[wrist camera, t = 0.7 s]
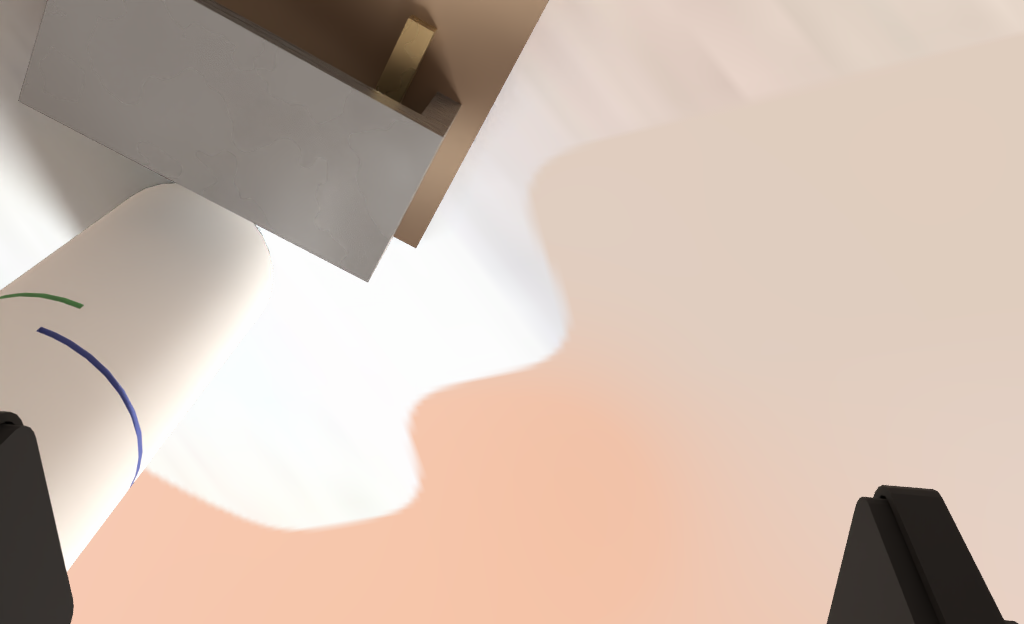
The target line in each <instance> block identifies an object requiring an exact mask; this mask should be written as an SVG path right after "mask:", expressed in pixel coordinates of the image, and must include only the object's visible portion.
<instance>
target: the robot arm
mask: <svg viewBox="0 0 1024 624" xmlns="http://www.w3.org/2000/svg"><path fill="white" fill-rule="evenodd" d="M73 607H74V605H73V597H72V593H71V589H70V584H69V580H68V575H67V571H66V567H65V562H64V558H63V553H62V549H61V545H60V540H59V536H58V531H57V527H56V523H55V518H54V514H53V509H52V505H51V501H50V496H49V492H48V488H47V483H46V479H45V474H44V470H43V466H42V461H41V457H40V452H39V448H38V444H37V439H36V436H35V433H34V431H33V430H32V429H31V428H30V427H28V426H24V425H23V422H22V420H21V419H20V418H19V416H18V415H17V414H15V413H12V412H6V411H0V624H70V623H71V619H72V615H73ZM827 624H1018V623H1016V622H1015V621H1006V620H1004V619H1003V618H1002V615H1001V613H1000V611H999V609H998V607H997V605H996V603H995V601H994V599H993V597H992V596H991V594H990V592H989V590H988V588H987V586H986V584H985V582H984V580H983V578H982V576H981V574H980V572H979V570H978V568H977V566H976V564H975V562H974V560H973V558H972V556H971V554H970V552H969V550H968V548H967V546H966V544H965V542H964V540H963V538H962V536H961V534H960V532H959V530H958V528H957V526H956V524H955V522H954V520H953V518H952V516H951V514H950V513H949V511H948V509H947V506H946V505H945V503H944V501H943V499H942V497H941V496H940V494H939V493H938V491H936V490H933V489H922V488H912V487H899V486H887V485H882V486H880V487H878V489H877V490H876V492H875V494H874V497H873V498H871V497H870V498H869V497H861V498H860V499H859V500H858V502H857V504H856V507H855V511H854V515H853V519H852V523H851V527H850V531H849V535H848V540H847V544H846V548H845V552H844V556H843V560H842V564H841V568H840V572H839V576H838V580H837V584H836V588H835V592H834V597H833V601H832V605H831V609H830V613H829V617H828V621H827Z"/></svg>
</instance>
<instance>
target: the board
mask: <svg viewBox="0 0 1024 624" xmlns="http://www.w3.org/2000/svg"><path fill="white" fill-rule="evenodd" d="M214 1H215V2H217V3H219V4H221V5H223V6H224V7H226V8H228V9H230V10H232V11H234V12H235V13H237V14H239V15H241V16H243V17H244V18H246V19H248V20H250V21H252V22H254V23H255V24H257V25H259V26H261V27H263V28H264V29H266V30H268V31H270V32H272V33H274V34H275V35H277V36H279V37H281V38H283V39H284V40H286V41H288V42H290V43H292V44H293V45H295V46H297V47H299V48H301V49H303V50H304V51H306V52H308V53H310V54H312V55H313V56H315V57H317V58H319V59H321V60H323V61H324V62H326V63H328V64H330V65H332V66H333V67H335V68H337V69H339V70H341V71H343V72H344V73H346V74H348V75H350V76H352V77H353V78H355V79H357V80H359V81H361V82H362V83H364V84H366V85H368V86H370V87H372V88H373V89H375V88H376V86H377V84H378V81H379V79H380V77H381V75H382V73H383V71H384V69H385V67H386V65H387V62H388V60H389V58H390V56H391V54H392V52H393V50H394V48H395V45H396V43H397V41H398V39H399V37H400V35H401V33H402V31H403V28H404V26H405V24H406V22H407V20H408V18H409V17H410V16H411V15H414V16H416V17H418V18H420V19H421V20H423V21H425V22H427V23H428V24H430V25H432V26H434V27H436V28H437V31H436V33H435V35H434V37H433V39H432V41H431V43H430V45H429V47H428V49H427V51H426V53H425V56H424V58H423V60H422V62H421V64H420V66H419V68H418V70H417V72H416V74H415V76H414V78H413V80H412V82H411V84H410V86H409V88H408V90H407V92H406V94H405V96H404V99H403V101H402V103H401V104H402V105H404V106H406V107H408V108H410V109H412V110H413V111H415V112H417V113H419V114H422V113H423V112H424V110H425V109H426V107H427V106H428V105H429V103H430V102H431V100H432V99H433V97H434V96H435V95H436V93H437V92H440V93H442V94H443V95H445V96H447V97H449V98H451V99H452V100H454V101H456V102H458V103H460V104H461V105H462V106H461V107H460V109H459V111H458V113H457V115H456V117H455V119H454V121H453V123H452V125H451V127H450V129H449V131H448V132H447V134H446V136H445V138H444V140H443V142H442V144H441V146H440V148H439V150H438V152H437V154H436V156H435V157H434V159H433V161H432V163H431V165H430V167H429V169H428V171H427V173H426V175H425V177H424V179H423V181H422V182H421V184H420V186H419V188H418V190H417V192H416V194H415V196H414V198H413V200H412V202H411V204H410V206H409V207H408V209H407V211H406V213H405V215H404V217H403V219H402V221H401V223H400V225H399V227H398V229H397V231H396V232H395V234H394V237H396V238H398V239H399V240H401V241H403V242H405V243H407V244H409V245H411V246H413V247H415V248H416V247H417V245H418V244H419V242H420V240H421V238H422V236H423V234H424V232H425V231H426V229H427V227H428V225H429V223H430V221H431V219H432V217H433V216H434V214H435V212H436V210H437V208H438V206H439V204H440V203H441V201H442V199H443V197H444V195H445V193H446V191H447V189H448V188H449V186H450V184H451V182H452V180H453V178H454V176H455V175H456V173H457V171H458V169H459V167H460V165H461V163H462V162H463V160H464V158H465V156H466V154H467V152H468V150H469V148H470V147H471V145H472V143H473V141H474V139H475V137H476V135H477V134H478V132H479V130H480V128H481V126H482V124H483V122H484V120H485V119H486V117H487V115H488V113H489V111H490V109H491V107H492V106H493V104H494V102H495V100H496V98H497V96H498V94H499V92H500V91H501V89H502V87H503V85H504V83H505V81H506V79H507V78H508V76H509V74H510V72H511V70H512V68H513V66H514V65H515V63H516V61H517V59H518V57H519V55H520V53H521V51H522V50H523V48H524V46H525V44H526V42H527V40H528V38H529V37H530V35H531V33H532V31H533V29H534V27H535V25H536V23H537V22H538V20H539V18H540V16H541V14H542V12H543V10H544V9H545V7H546V5H547V3H548V1H549V0H214Z"/></svg>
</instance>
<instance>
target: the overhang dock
mask: <svg viewBox="0 0 1024 624" xmlns="http://www.w3.org/2000/svg"><path fill="white" fill-rule="evenodd" d="M436 31H437V28H436V27H434V26H432V25H430V24H428V23H427V22H425V21H423V20H421V19H420V18H418V17H416V16H414V15H411V16H410V17H409V18H408V20H407V22H406V24H405V26H404V28H403V31H402V33H401V35H400V37H399V39H398V41H397V43H396V45H395V48H394V50H393V52H392V54H391V56H390V58H389V60H388V62H387V65H386V67H385V69H384V71H383V73H382V75H381V77H380V79H379V81H378V84H377V86H376V88H375V89H373V88H372V87H370V86H368V85H366V84H364V83H362V82H361V81H359V80H357V79H355V78H353V77H352V76H350V75H348V74H346V73H344V72H343V71H341V70H339V69H337V68H335V67H333V66H332V65H330V64H328V63H326V62H324V61H323V60H321V59H319V58H317V57H315V56H313V55H312V54H310V53H308V52H306V51H304V50H303V49H301V48H299V47H297V46H295V45H293V44H292V43H290V42H288V41H286V40H284V39H283V38H281V37H279V36H277V35H275V34H274V33H272V32H270V31H268V30H266V29H264V28H263V27H261V26H259V25H257V24H255V23H254V22H252V21H250V20H248V19H246V18H244V17H243V16H241V15H239V14H237V13H235V12H234V11H232V10H230V9H228V8H226V7H224V6H223V5H221V4H219V3H217V2H215V1H214V0H48V1H47V4H46V8H45V11H44V14H43V18H42V21H41V25H40V28H39V32H38V35H37V38H36V42H35V45H34V49H33V52H32V56H31V59H30V62H29V66H28V69H27V73H26V76H25V80H24V83H23V86H22V90H21V93H20V97H19V100H18V101H19V102H21V103H23V104H25V105H27V106H29V107H31V108H33V109H35V110H37V111H38V112H40V113H42V114H44V115H46V116H48V117H50V118H52V119H54V120H56V121H58V122H60V123H62V124H63V125H65V126H67V127H69V128H71V129H73V130H75V131H77V132H79V133H81V134H83V135H85V136H87V137H89V138H90V139H92V140H94V141H96V142H98V143H100V144H102V145H104V146H106V147H108V148H110V149H112V150H114V151H116V152H117V153H119V154H121V155H123V156H125V157H127V158H129V159H131V160H133V161H135V162H137V163H139V164H141V165H142V166H144V167H146V168H148V169H150V170H152V171H154V172H156V173H158V174H160V175H162V176H164V177H166V178H168V179H169V180H171V181H173V182H175V183H177V184H179V185H181V186H183V187H185V188H187V189H189V190H191V191H193V192H195V193H196V194H198V195H200V196H202V197H204V198H206V199H208V200H210V201H212V202H214V203H216V204H218V205H220V206H222V207H223V208H225V209H227V210H229V211H231V212H233V213H235V214H237V215H239V216H241V217H243V218H245V219H247V220H248V221H250V222H252V223H254V224H256V225H258V226H260V227H262V228H264V229H266V230H268V231H270V232H272V233H274V234H275V235H277V236H279V237H281V238H283V239H285V240H287V241H289V242H291V243H293V244H295V245H297V246H299V247H301V248H302V249H304V250H306V251H308V252H310V253H312V254H314V255H316V256H318V257H320V258H322V259H324V260H326V261H327V262H329V263H331V264H333V265H335V266H337V267H339V268H341V269H343V270H345V271H347V272H349V273H351V274H353V275H354V276H356V277H358V278H360V279H362V280H364V281H366V282H368V281H369V279H370V278H371V276H372V274H373V272H374V270H375V269H376V267H377V265H378V263H379V261H380V260H381V258H382V256H383V254H384V252H385V251H386V249H387V247H388V245H389V243H390V242H391V240H392V238H393V236H394V234H395V232H396V231H397V229H398V227H399V225H400V223H401V221H402V219H403V217H404V215H405V213H406V211H407V209H408V207H409V206H410V204H411V202H412V200H413V198H414V196H415V194H416V192H417V190H418V188H419V186H420V184H421V182H422V181H423V179H424V177H425V175H426V173H427V171H428V169H429V167H430V165H431V163H432V161H433V159H434V157H435V156H436V154H437V152H438V150H439V148H440V146H441V144H442V142H443V140H444V138H445V136H446V134H447V132H448V131H449V129H450V127H451V125H452V123H453V121H454V119H455V117H456V115H457V113H458V111H459V109H460V107H461V106H462V105H461V104H460V103H458V102H456V101H454V100H452V99H451V98H449V97H447V96H445V95H443V94H442V93H440V92H437V93H436V95H435V96H434V97H433V99H432V100H431V102H430V103H429V105H428V106H427V107H426V109H425V110H424V112H423V113H422V114H419V113H417V112H415V111H413V110H412V109H410V108H408V107H406V106H404V105H402V104H401V103H402V101H403V99H404V96H405V94H406V92H407V90H408V88H409V86H410V84H411V82H412V80H413V78H414V76H415V74H416V72H417V70H418V68H419V66H420V64H421V62H422V60H423V58H424V56H425V53H426V51H427V49H428V47H429V45H430V43H431V41H432V39H433V37H434V35H435V33H436Z"/></svg>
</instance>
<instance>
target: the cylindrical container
mask: <svg viewBox="0 0 1024 624" xmlns="http://www.w3.org/2000/svg"><path fill="white" fill-rule="evenodd" d="M272 285H273V267H272V262H271V257H270V253H269V250H268V248H267V246H266V243H265V241H264V239H263V236H262V235H261V233H260V232H259V230H258V229H257V227H256V226H255V224H254V223H252V222H250V221H248V220H247V219H245V218H243V217H241V216H239V215H237V214H235V213H233V212H231V211H229V210H227V209H225V208H223V207H222V206H220V205H218V204H216V203H214V202H212V201H210V200H208V199H206V198H204V197H202V196H200V195H198V194H196V193H195V192H193V191H191V190H189V189H187V188H185V187H183V186H181V185H179V184H177V183H170V184H159V185H156V186H152V187H149V188H145V189H144V190H142V191H140V192H138V193H136V194H135V195H133V196H131V197H130V198H128V199H127V200H126V201H124V202H123V203H121V204H120V205H119V206H117V207H116V208H114V209H113V210H112V211H110V212H109V213H108V214H106V215H105V216H103V217H102V218H101V219H99V220H98V221H96V222H95V223H94V224H92V225H91V226H89V227H88V228H87V229H85V230H84V231H82V232H81V233H80V234H78V235H77V236H76V237H74V238H73V239H71V240H70V241H69V242H67V243H66V244H64V245H63V246H62V247H60V248H59V249H57V250H56V251H55V252H53V253H52V254H50V255H49V256H48V257H46V258H45V259H44V260H42V261H41V262H39V263H38V264H37V265H35V266H34V267H32V268H31V269H30V270H28V271H27V272H25V273H24V274H23V275H21V276H20V277H18V278H17V279H16V280H14V281H13V282H12V283H10V284H9V285H7V286H6V287H5V288H3V289H2V290H0V411H6V412H12V413H15V414H17V415H18V416H19V418H20V419H21V420H22V422H23V425H24V426H28V427H30V428H31V429H32V430H33V431H34V433H35V436H36V439H37V444H38V448H39V452H40V457H41V461H42V466H43V470H44V474H45V479H46V483H47V488H48V492H49V496H50V501H51V505H52V509H53V514H54V518H55V523H56V527H57V531H58V536H59V540H60V545H61V549H62V553H63V558H64V562H65V567H66V571H68V569H69V568H70V567H71V566H72V564H73V563H74V562H75V560H76V559H77V558H78V556H79V555H80V554H81V552H82V551H83V550H84V548H85V547H86V545H87V544H88V543H89V542H90V540H91V539H92V538H93V536H94V535H95V534H96V532H97V531H98V530H99V528H100V527H101V526H102V524H103V523H104V522H105V520H106V519H107V518H108V516H109V515H110V514H111V512H112V511H113V509H114V508H115V507H116V506H117V504H118V503H119V502H120V500H121V499H122V498H123V496H124V495H125V494H126V492H127V491H128V490H129V488H130V487H131V486H132V484H133V483H134V482H135V480H136V479H137V478H138V476H139V475H140V474H141V472H142V471H143V470H144V469H145V467H146V466H147V465H148V463H149V462H150V461H151V459H152V458H153V457H154V455H155V454H156V453H157V451H158V450H159V449H160V447H161V446H162V445H163V443H164V442H165V441H166V439H167V438H168V437H169V435H170V434H171V433H172V431H173V430H174V429H175V427H176V426H177V425H178V423H179V422H180V421H181V419H182V418H183V417H184V415H185V414H186V413H187V411H188V410H189V409H190V407H191V406H192V405H193V403H194V402H195V401H196V399H197V398H198V397H199V395H200V394H201V393H202V391H203V390H204V389H205V387H206V386H207V385H208V383H209V382H210V381H211V379H212V378H213V377H214V375H215V374H216V373H217V371H218V370H219V369H220V367H221V366H222V365H223V363H224V362H225V361H226V359H227V358H228V357H229V355H230V354H231V353H232V352H233V350H234V349H235V348H236V346H237V345H238V344H239V342H240V341H241V340H242V338H243V337H244V336H245V334H246V333H247V332H248V330H249V329H250V328H251V326H252V325H253V324H254V322H255V321H256V320H257V318H258V317H259V316H260V314H261V313H262V312H263V310H264V308H265V306H266V304H267V302H268V300H269V298H270V294H271V289H272Z"/></svg>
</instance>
